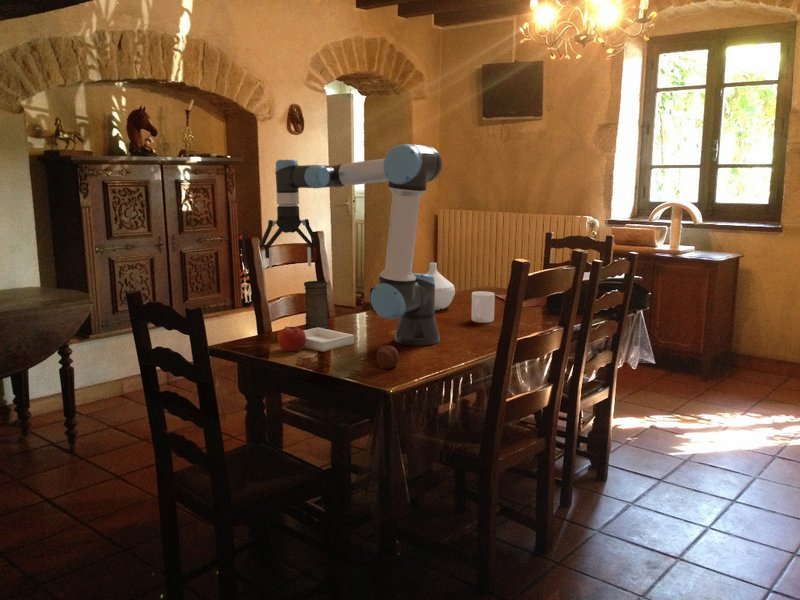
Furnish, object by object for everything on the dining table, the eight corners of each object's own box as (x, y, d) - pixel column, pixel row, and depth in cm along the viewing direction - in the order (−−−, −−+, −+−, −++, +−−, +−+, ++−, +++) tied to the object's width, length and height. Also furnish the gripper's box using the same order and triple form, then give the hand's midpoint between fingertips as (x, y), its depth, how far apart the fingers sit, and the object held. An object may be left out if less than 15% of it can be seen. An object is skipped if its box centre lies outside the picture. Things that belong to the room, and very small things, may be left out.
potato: (369, 369, 204) (369, 347, 203) (383, 361, 212) (383, 340, 211) (391, 371, 201) (391, 349, 200) (404, 363, 210) (404, 342, 208)
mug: (464, 323, 265) (464, 295, 264) (476, 317, 276) (477, 290, 274) (485, 325, 261) (486, 297, 259) (497, 319, 272) (497, 292, 270)
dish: (354, 343, 234) (354, 335, 233) (323, 351, 224) (322, 342, 223) (318, 335, 246) (317, 327, 245) (286, 342, 235) (286, 334, 235)
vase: (413, 303, 306) (413, 259, 302) (456, 304, 303) (456, 260, 300) (408, 311, 288) (408, 265, 284) (453, 312, 285) (453, 266, 282)
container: (325, 335, 247) (324, 284, 244) (301, 334, 249) (299, 283, 245) (332, 329, 255) (331, 280, 252) (309, 328, 257) (308, 279, 254)
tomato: (280, 347, 230) (280, 323, 228) (308, 347, 230) (308, 323, 228) (274, 354, 221) (274, 329, 219) (304, 354, 220) (303, 329, 219)
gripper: (321, 204, 248) (323, 264, 252) (250, 205, 241) (252, 267, 245) (326, 205, 241) (327, 266, 245) (252, 206, 234) (254, 269, 238)
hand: (290, 266), depth 245 cm, fingers open, 13 cm apart
